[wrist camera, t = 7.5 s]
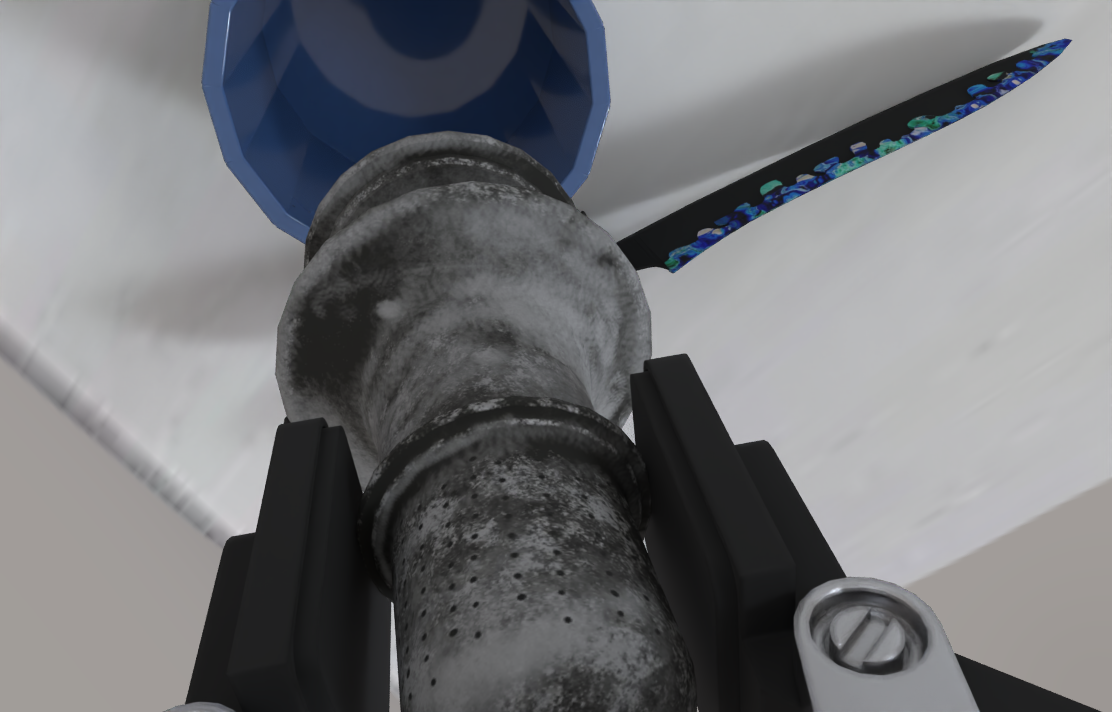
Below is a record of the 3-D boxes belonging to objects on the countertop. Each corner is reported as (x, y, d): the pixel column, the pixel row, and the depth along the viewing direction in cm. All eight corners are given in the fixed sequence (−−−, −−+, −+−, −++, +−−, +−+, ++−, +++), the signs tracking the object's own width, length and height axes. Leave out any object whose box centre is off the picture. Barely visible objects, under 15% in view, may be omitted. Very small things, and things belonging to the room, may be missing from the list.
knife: (299, 410, 35) (300, 479, 31) (259, 347, 34) (255, 410, 30) (1022, 93, 37) (1108, 121, 33) (1017, 17, 35) (1106, 37, 31)
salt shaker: (623, 355, 19) (937, 962, 9) (346, 434, 19) (354, 1157, 9) (568, 75, 16) (952, 524, 6) (235, 164, 16) (48, 801, 6)
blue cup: (210, -117, 27) (145, -97, 21) (544, -162, 28) (589, -156, 21) (296, 202, 33) (266, 303, 26) (577, 157, 33) (623, 245, 26)
